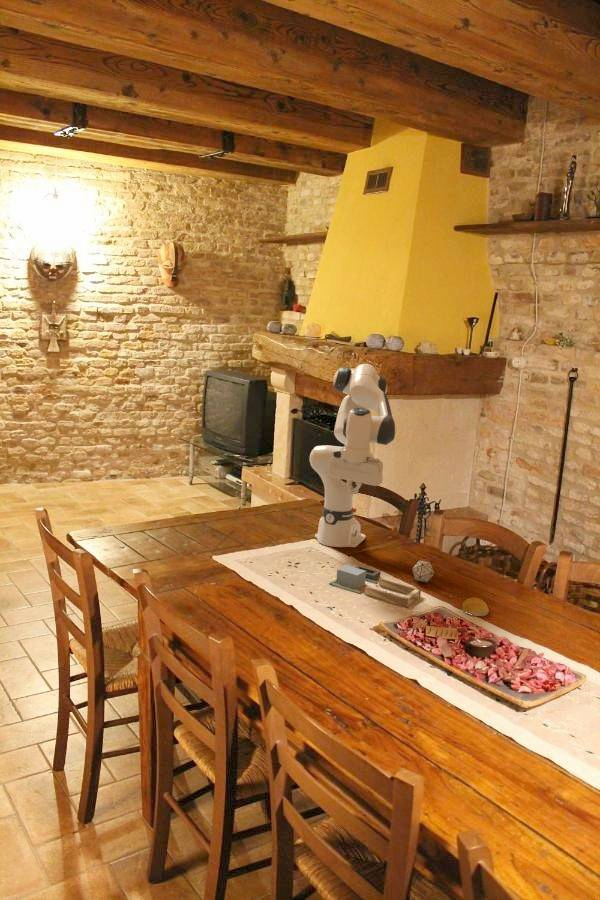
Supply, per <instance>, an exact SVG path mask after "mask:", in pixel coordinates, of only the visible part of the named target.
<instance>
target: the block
mask: <svg viewBox="0 0 600 900" xmlns="http://www.w3.org/2000/svg"><path fill="white" fill-rule="evenodd" d="M355 567H356V566H350V565H348V564H345V565H343V566H341V567H339V568H337V570H336V578H335V580H336V583H335V584H338V585H341V586H345V585H346V586H345V587H348V588H351V589H354V590H357V589H359V588H360V587H363V586H364V585H366V581H365V578H366V571H365V570H362V569H358V568H355Z"/></svg>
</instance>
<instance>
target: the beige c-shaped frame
mask: <svg viewBox="0 0 600 900" xmlns="http://www.w3.org/2000/svg"><path fill="white" fill-rule="evenodd" d="M378 580H379V581H378V587H383V588H386V589H389V590H393V591H395V592H399V593H402V594H406V595H405V596H401V595H399V594H394V593H391V592H388V591H385V590H381V589H378V588H374V587H371V586H369V585H367V586H365V588H364V595H365V596H366V595H367V596H370V597H372V598H376V599H378V600H379V599H380V600H383V601H385V602H389V603H392V604H396V605H399V606H402V607H405V608H406V607H408V606H409V605H410V604H412V603H413V602H415V601H416V600H417V599H419V598H420V597H421V595H422V594H421V593H422V589H421V588H418V587H414V586H410V585H407V584H404V583H400V582H396V581H394V580H390V579H386V578H384V577H381V578H380V577H379V578H378Z"/></svg>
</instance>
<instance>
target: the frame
mask: <svg viewBox="0 0 600 900" xmlns="http://www.w3.org/2000/svg"><path fill="white" fill-rule="evenodd" d="M366 581H367V582H369V583H372V584H379V581H376V580H374V581H373V580H370V579H366V578H365V582H366ZM328 585H330V586H333V587H337V588H340V589H343V590H346V591H350V592H353V593H357V594H361V593H362V591H360V590H357V589H355V588H351V587H348V586H345V585H342V584H338V583H336V579H334V580H332V581H330V582H329V583H328Z"/></svg>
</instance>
